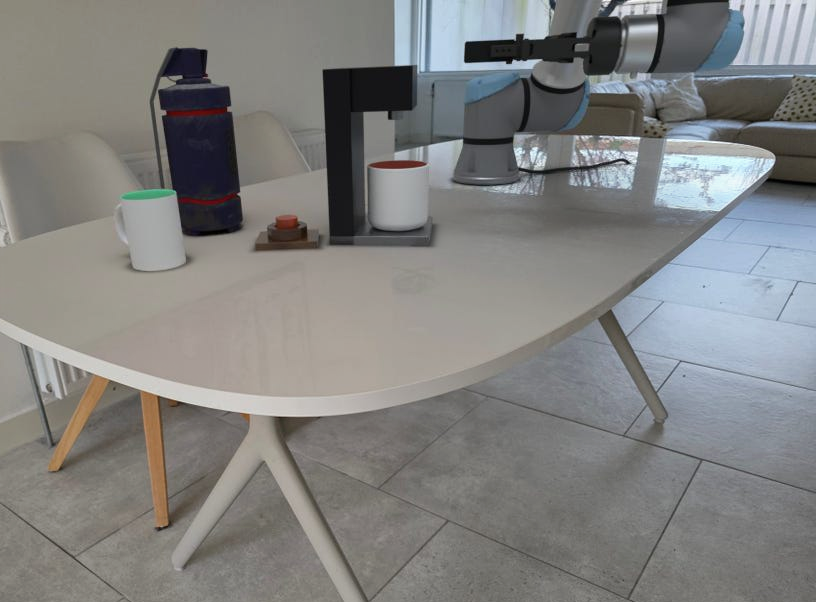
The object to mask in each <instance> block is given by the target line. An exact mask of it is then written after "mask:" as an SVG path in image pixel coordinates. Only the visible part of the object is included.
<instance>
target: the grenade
mask: <svg viewBox="0 0 816 602" xmlns="http://www.w3.org/2000/svg"><path fill="white" fill-rule="evenodd" d="M208 53H209V50H208V49H207V48H206V49H205V48H197V47H181V48H179V47H178V46H176V47H171V48H168V49H167V52H166V54H165V56H164V58H163V60H162V63H161V65H160V67H159V69H158V71H157V74H156V76H155V77H156V78H155V80H154V82H153V83H154V84H153V87H152V91H151V94H150V98H149V108H150V115H151V124H152V131H153V138H154V147H155V153H156V161H157V169H158V175H159V183H160V184H159V185H160V187H161V188H160V189H165V188H166V186H165V181H164V180H165V179H164V171H163V164H162V155H161V148H160V141H159V133H158V126H157V124H158V123H157V118H156V110H155V102H154V101H155V99H156V95H157V94H158V101H159V107H160V111H165V112H166V113H165V114H163V115H161V122H162V128H163V135H164V142H165V149H166V154H167V163H168V167H169V168H168V169H169V175H170V181H171V188H172V189H171V190H174V191H176V195H177V201H178V208H179V215H180V222H181V229H184V230H185V231H186V234H187V235H188V236H192V237H199V236H200V235H201V232H213V231H214V232H215V231H220V230H221V231H222V230H227V232H228V233H234V232H236V231H238V230H239V229H240V228H239V227H240V226H239V224H241V223H242V222H243V221H244V216H243V207H242V196H241V195H239V194H240V193H241V184H240V175H239V164H238V155H237V146H236V145H237V144H236V138H235V137H236V136H235V126H234V116H233V112H232V111H228V108H230V107H232V98H231V88H230V86H229V85H220V84H217V83H213V82H212V79H210V78H208V77H209V74H208V73H207V67H208V66H207V64H208ZM179 76H181V78H178V79H172V78H171V77H179ZM162 78H166V79H167V80H169V82H170V81H171V82H172V83H175V84H173V85H170V86H167V87H165V88H160V89H159V85H160V83H161V82H160V81H161V79H162Z"/></svg>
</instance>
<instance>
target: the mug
mask: <svg viewBox="0 0 816 602" xmlns="http://www.w3.org/2000/svg"><path fill="white" fill-rule="evenodd" d="M119 202H120V203H119V204H117V205H116V206H115V208H114V213H113V220H114V227H115V230H116V232H117V235H118V237H119V238H120V240H121V241H122V243H123V244H125V245H126V246H128V249H129V253H130V254H129V255H130V260H131V265H132V266H131V267H132V268H133V269H134V270H137V271H143V272H154V271H156V272H157V271H165V270H170V269H174V268H178V267H180V266H182V265H184V264H186V262H187V256H186V249H185V244H184V236H183V230H182V229H183V228H181V222H180V215H179V208H178V201H177V195H176V191H174V190H173V189H165V188H164V189H162V188H157V189H144V190H136V191H135V190H134V191H130V192H127V193H124V194H121V195H120V196H119Z"/></svg>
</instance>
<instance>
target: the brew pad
mask: <svg viewBox="0 0 816 602" xmlns="http://www.w3.org/2000/svg"><path fill="white" fill-rule="evenodd" d="M319 238H320V230H319V228H318V229H317V228H316V229H308V223H307V222H304V221H300V220H298V227H294V228H284V229H282V228H276V221H275V222H272V223H269V224H268V225H267V227H266V230H264V231H262V230H261V231H260V232H259V235H258V237H257V238H256V240H255V243H254V246H255V247H254V248H255V251H256V252H259V251H282V250H283V251H285V250H286V251H287V250H309V249H310V250H311V249H312V250H313V249H314V250H315V249H318V248H319V240H320V239H319Z"/></svg>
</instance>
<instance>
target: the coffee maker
mask: <svg viewBox="0 0 816 602" xmlns="http://www.w3.org/2000/svg"><path fill="white" fill-rule="evenodd" d="M418 67H419V66H418V64H406V65H405V64H403V65H383V66H382V65H380V66H357V67H356V66H355V67H334V68H323V69H322V91H323V93H322V94H323V115H324V135H325V136H324V138H325V140H324V141H325V161H326V182H327V184H326V186H327V206H328V207H327V208H328V230H329V231H328V232H329V245H330V246H403V247H405V246H410V247H429V246H430V241H431V234H432V227H433V216H428V219H427V222H426V223H425V224H424V225H423V226H422V227H420V228H417V229H413V230H407V231H385V230H380V229H377V228H374V227H373V226H372V225H371V224H370V223H369V221H368V216H366V188H365V187H366V179H365V178H366V177H365V173H366V172H365V133H364V132H365V123H364V122H365V121H364V120H365V118H364V117H365V116H364V115H365V114H364V113H376V112H377V113H378V112H379V113H380V112H381V113H383V112H387V120H388V121H399V120H400V121H401V120H403V119H404V112H410V111H413V110H414V109H415V108H416V107H417V106H418V69H419V68H418Z"/></svg>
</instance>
